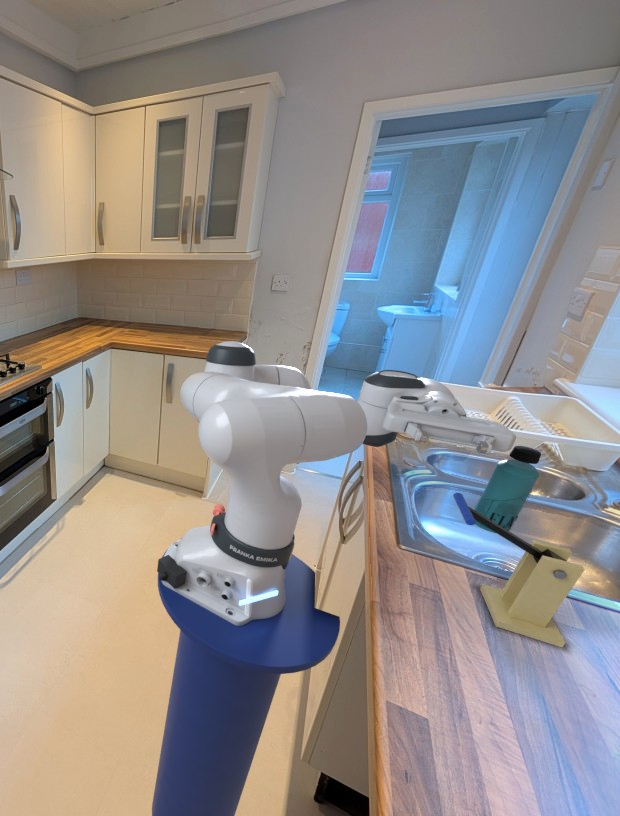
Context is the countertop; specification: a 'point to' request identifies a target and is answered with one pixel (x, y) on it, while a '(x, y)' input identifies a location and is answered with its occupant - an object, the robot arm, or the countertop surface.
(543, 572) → the switch bracket
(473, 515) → the lever
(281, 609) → the robot arm
